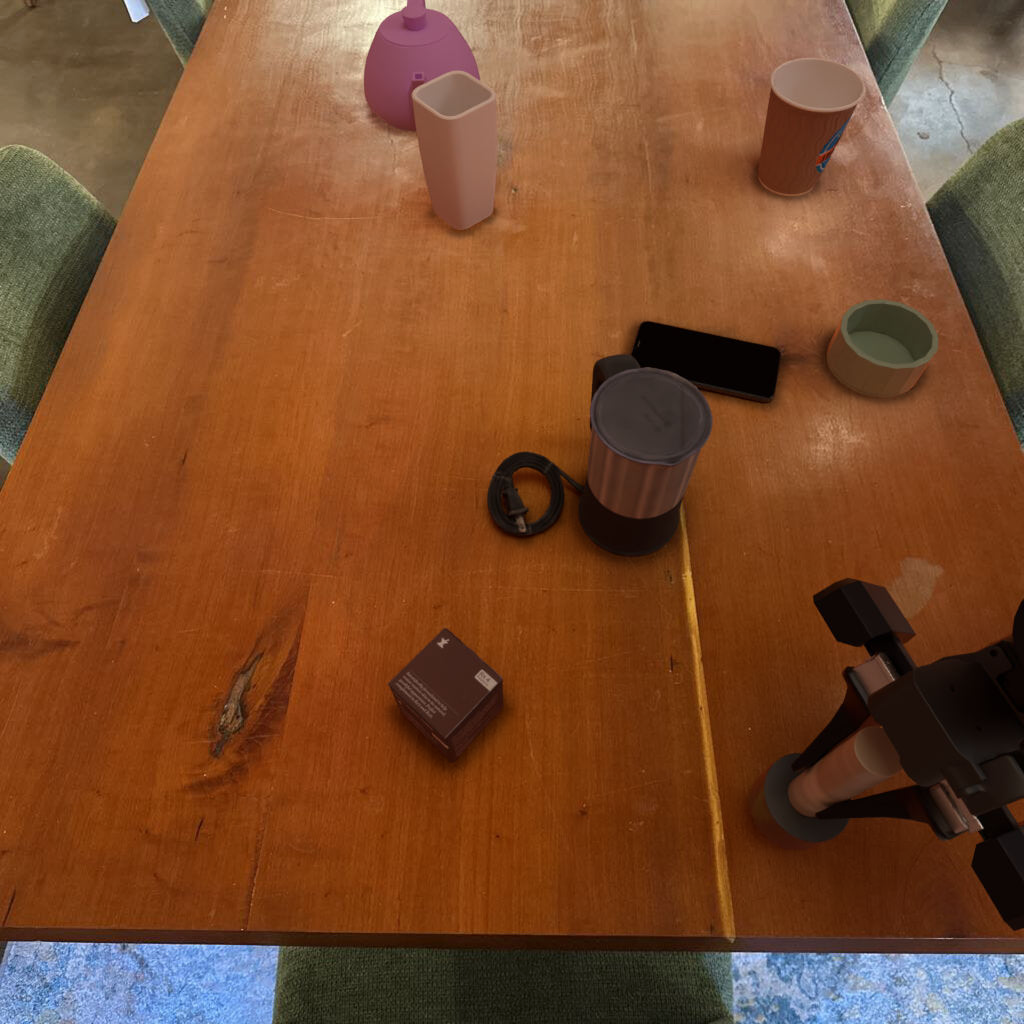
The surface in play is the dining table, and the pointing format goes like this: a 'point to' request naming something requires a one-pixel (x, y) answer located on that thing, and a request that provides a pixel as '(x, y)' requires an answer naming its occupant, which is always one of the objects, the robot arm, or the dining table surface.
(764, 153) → the coffee cup
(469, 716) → the box
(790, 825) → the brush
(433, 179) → the cup
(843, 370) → the pale green bowl
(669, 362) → the smartphone
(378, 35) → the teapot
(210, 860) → the dining table surface
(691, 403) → the milk frother
